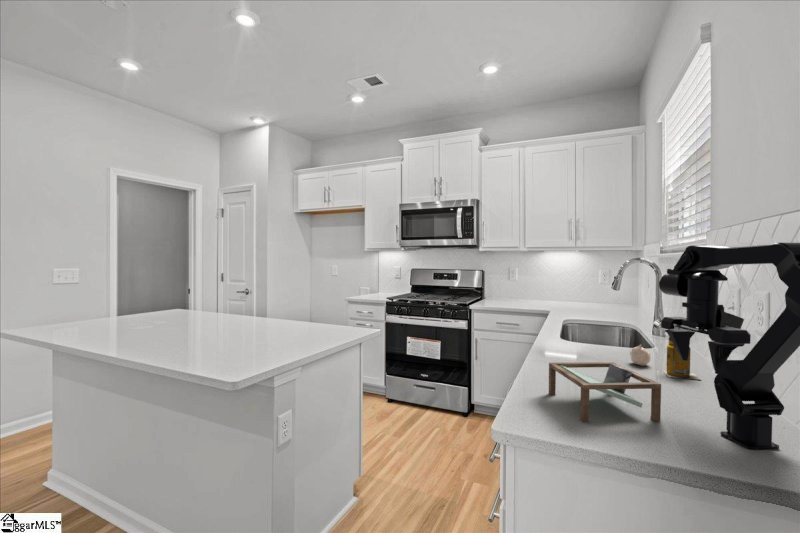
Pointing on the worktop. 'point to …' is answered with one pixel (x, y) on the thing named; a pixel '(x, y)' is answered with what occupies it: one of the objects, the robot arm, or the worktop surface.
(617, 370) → the cylinder
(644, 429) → the worktop surface
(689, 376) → the condiment
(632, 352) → the garlic bulb
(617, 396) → the trapdoor
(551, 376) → the stand
